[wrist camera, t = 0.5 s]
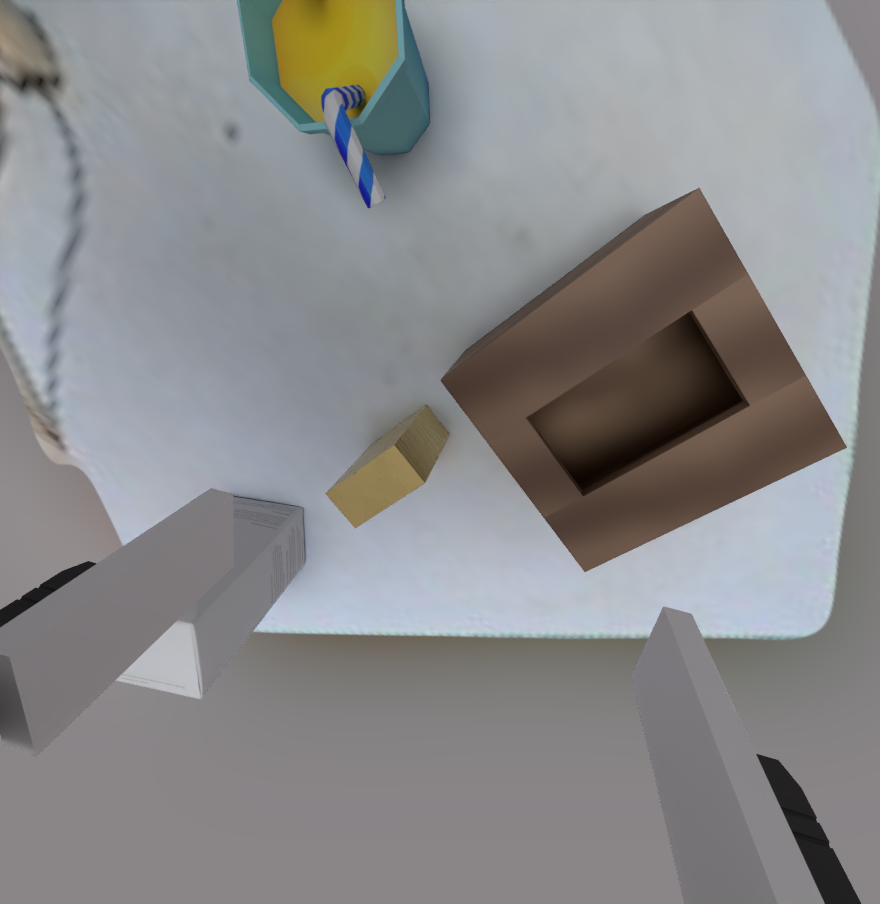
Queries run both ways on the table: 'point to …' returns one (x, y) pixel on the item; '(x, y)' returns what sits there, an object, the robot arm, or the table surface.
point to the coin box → (643, 388)
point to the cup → (341, 75)
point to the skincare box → (227, 602)
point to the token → (390, 467)
